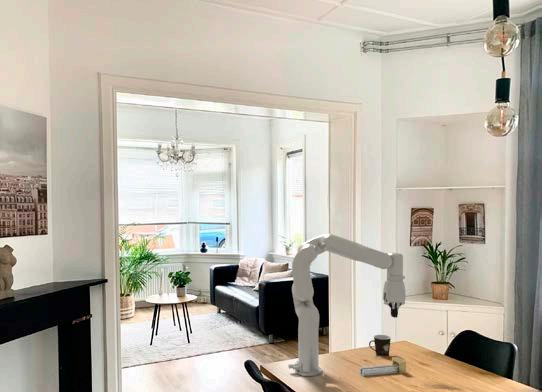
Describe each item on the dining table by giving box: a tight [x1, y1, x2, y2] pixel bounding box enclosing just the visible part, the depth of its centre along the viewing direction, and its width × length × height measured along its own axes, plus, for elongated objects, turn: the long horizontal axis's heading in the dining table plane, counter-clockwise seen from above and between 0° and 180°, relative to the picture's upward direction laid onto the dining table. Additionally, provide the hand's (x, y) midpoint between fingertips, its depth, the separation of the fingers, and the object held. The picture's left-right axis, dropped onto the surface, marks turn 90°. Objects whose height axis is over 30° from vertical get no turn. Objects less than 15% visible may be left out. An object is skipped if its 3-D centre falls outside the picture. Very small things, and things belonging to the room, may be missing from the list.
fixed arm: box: [361, 366, 400, 377], centre depth 193 cm, size 20×1×2 cm, turn 105°
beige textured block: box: [391, 356, 407, 375], centre depth 196 cm, size 3×7×5 cm, turn 15°
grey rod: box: [358, 363, 399, 375], centre depth 195 cm, size 21×2×3 cm, turn 104°
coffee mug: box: [368, 334, 392, 357], centre depth 221 cm, size 12×9×10 cm
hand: (394, 316), depth 203 cm, fingers closed
